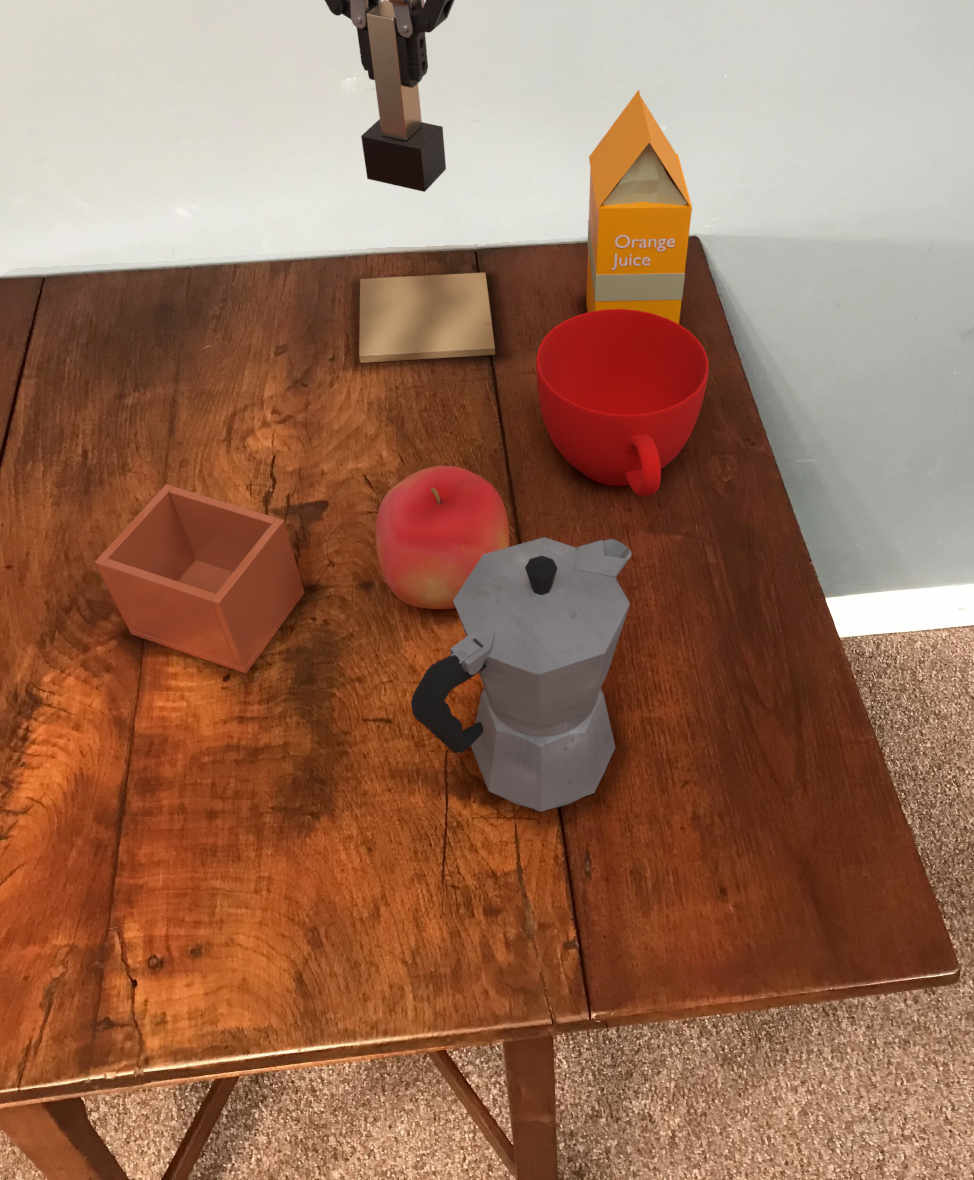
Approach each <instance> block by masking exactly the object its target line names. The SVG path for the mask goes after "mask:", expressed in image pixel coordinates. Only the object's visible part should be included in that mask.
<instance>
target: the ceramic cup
mask: <svg viewBox="0 0 974 1180" xmlns="http://www.w3.org/2000/svg"><path fill="white" fill-rule="evenodd" d="M535 374H536V384H537V385H536V386H537V394H538V402H539V408H540V413H541V416H542V420H543V423H544V425H545V428H546V430H547V433H548V436H549V438H550V440H551V442H552V444H553V445H554V446H555V448H556V449H557V450H558V452H559V453H560V455H561V456H562V457H563V458H564V459H565V461H567V462H568V463H569V464H570V465H571V466H572V467H573V468H574V469H576V470H577V471H579V472H580V473H582V474H583V475H584V476H586V477H587V478H588V479H590V480H592V481H594V482H596V483H598V484H601V485H606V486H613V487H624V486H625V487H626V486H630V488H631V490H632V491H633V492H634V493H635V494H636V495H637V496H639V497H650V496H653V495H655V494H656V493H657V492H658V490H659V489H660V485H661V481H662V479H661V478H662V470H663V469H664V468H666V466H668V464H670V463H671V462H672V461H673V460H674V459H675V458H676V457H677V456H678V455H679V454H680V452H681V451H682V449H683V448H684V446H685V445H686V444H687V442H688V441H689V438H690V437H691V435H692V432H694V429H695V426H696V422H697V420H698V417H699V414H700V412H701V408H702V405H703V401H704V398H705V394H706V390H707V384H708V380H709V359H708V355H707V351H706V350H705V348H704V346H703V345H702V343H701V342H700V340H699V339H698V338H697V337H696V336H695V335H694V334H693V333H692V332H691V331H689V330H688V329H687V328H685V327H683V326H682V325H681V324H680V323H679V324H677V323H675V322H673V321H671V320H669V319H667V318H665V317H662V316H659V315H656V314H653V313H648V312H643V311H638V310H628V309H605V310H598V311H592V312H588V311H587V312H585V313H581V314H578V315H574V316H572V317H570V318H568V319H565V320H564V321H562V322H561V323H559V324H557V325H556V326H555V327H553V328H552V329H551V330H550V331H549V332H548V333H547V334H546V335H545V336H544V337H543V339H542V340H541V343H540V344H539V346H538V349H537V352H536V359H535Z"/></svg>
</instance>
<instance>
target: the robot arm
mask: <svg viewBox="0 0 974 1180" xmlns="http://www.w3.org/2000/svg"><path fill="white" fill-rule="evenodd" d="M388 1H389V2H391V3H392V4H393V9H394V14H395V19H396V24H397V29H398V32H399V33H400V35H399V36H398V37H397V40H398V49H399V58H400V67H401V77H402V84H403V86H405V87H410V88H413V87H414V86H415V85H417V84H418V85H419V83H420V82H421V81H422V80H423V77H424V76H425V75H427V72H428V69H429V61H428V53H427V52H428V49H427V40H426V38H427V37H426V33H428V34H429V33H432V32H433V31H434V30H435V29H436V28H437V27H439V26H440V25H441V24H442V23H443V22H445V21H446V20H447V19H448V18H449V15H450V12H451V10H452V8H453V5H454V3H455V0H388ZM324 2H325V4H326V6H327V7H328V9H329V11H330V12H331V13H332V15H335V16H336V17H337V16H341V15H343V16H345V17H346V18H348V19H349V20H351V23H352V25H354V27H355V28H356V33H357V40H358V48H359V54H360V62H361V65H362V68H363V69H364V71H367V75H368V79H369V80H371V81H375V78H374V70H373V63H372V55H371V47H370V39H369V31H368V24H367V16H366V14H367V13H368V12H369V11H371V10H372V9H373V8H374V7H376V6H377V5H378V4H380V3H381V2H382V0H324Z"/></svg>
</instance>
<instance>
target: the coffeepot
mask: <svg viewBox="0 0 974 1180" xmlns="http://www.w3.org/2000/svg"><path fill="white" fill-rule="evenodd" d="M631 556H632V550H631V549H630V548H629V547H628V546H626V545H625V544H624V543H623V542H621V541H618V540H616V539H613V538H608V539H605V540H603V539H600V540H595V541H594V542H593V541H592V542H590V543H586V544H583V545H580V546H572V545H569V544H566V543H564V542H560V541H557V540H554V539H551V538H548V537H546V536H545V537H544V536H543V537H540V538H537V539H533V540H529V541H526V542H521V543H518V544H515V545H512V546H509V547H508V548H504V549H500V550H497V551H493V552H490V553H486V554H483V555H482V557H481V558H480V560H479V562H478V563H477V565H476V566H475V568H474V569H473V571H472V572H471V574H470V575H469V577H468V578H467V580H466V581H465V583H464V584H463V586H462V588H461V589H460V591H459V592H458V594H457V595H456V597H455V598H454V600H453V603H454V605H455V607H456V608H455V609H456V612H457V615H458V618H459V620H460V623H461V627H462V629H463V632H464V635H465V637H464V638H463V639H462V640H460V641H458V642H457V643H456V644H454V645H453V646H451V647H450V648H449V650H450V655H448V656H446V657H444V658H442V659H440V660H438V661H436V662H435V663H433V664H431V665H430V666H429V667H428V668H427V669H426V671H425V673H424V675H422V678H421V680H420V681H419V683H418V685H417V687H416V688H415V690H414V692H413V694H412V696H411V701H410V707H411V713H412V715H413V717H414V719H416V720H417V721H418V722H419V723H420V724H421V725H422V726H424V727H425V728H426V729H427V730H429V732H430V733H431V734H433V735H434V736H435V737H436V738H437V739H438V740H439V741H440V742H441V743H442V744H443V745H445V747H447V749H448V750H449V751H451V752H452V753H453V754H462V753H463V752H465V751H466V750H468V749H469V748H470V747H471V750H472V752H473V755H474V757H475V758H474V759H475V760H476V763H477V766H478V769H479V771H480V774H481V775H482V777H483V780H484V783H485V786H486V788H487V790H488V792H489V793H491V794H493V795H496V796H498V797H500V798H502V799H504V800H506V801H508V802H510V803H511V804H515V805H517V806H521V807H524V808H527V809H532V810H535V811H537V812H540V813H542V812H547V811H549V810H552V809H557V808H560V807H565V806H569V805H571V804H572V803H574V802H578V801H579V800H581V799H583V798H584V797H587V796H590V795H593V794H595V793H596V791H597V788H598V786H599V784H600V782H601V780H602V778H603V777H604V775H605V773H606V770H607V767H608V765H609V763H610V760H611V758H612V756H613V754H614V752H615V750H616V744H615V743H616V742H615V739H614V735H613V731H612V726H611V721H610V717H609V712H608V708H607V704H606V698H605V695H604V692H603V690H602V686H603V684H604V682H605V679H606V677H607V675H608V673H609V670H610V667H611V664H612V661H613V658H614V655H615V651H616V649H617V646H618V643H619V639H620V636H621V633H622V630H623V627H624V624H625V620H626V618H627V615H628V612H629V608H630V605H631V603H630V601H629V599H628V598H627V596H626V594H625V592H624V590H623V589H622V587H621V585H620V583H619V581H618V580H617V577H618V575H619V574H620V573H621V572H622V569H623V568H624V567H625V566H626V564H627V563H628V561H629V560H630V558H631ZM476 675H479V678H480V680H481V683H482V685H483V689H482V691H481V693H480V698H479V703H478V708H477V714H476V718H475V723H473V724H472V725H470V726H469V727H466V728H464V729H463V724H462V721H461V720H460V719H459V718H458V717H456V716H455V715H453V712H452V711H451V707H450V705H449V704H448V703H447V702H446V699H447V697H448V695H449V694H450V692H451V691H452V690H454V689H456V688H457V687H459V686H460V685H462V684H464V683H466V682H467V681H468V680H471V679H472V678H473V677H475V676H476Z"/></svg>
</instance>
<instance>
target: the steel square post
mask: <svg viewBox="0 0 974 1180" xmlns="http://www.w3.org/2000/svg"><path fill="white" fill-rule="evenodd" d="M366 16H367V24H368V31H369V39H370V47H371V55H372V63H373V70H374V78H375V80H374V85H375V94H376V102H377V109H378V116H379V117H378V118H379V119H378V120H377V121H376V122H374V124H372V125H371V126H370V127H369V128H368V129H367V130H366V131H365V132H364V133H363V134H361V136H360V138H361V145H362V152H363V159H364V167H365V172H366V173H365V174H366V178H367V180H371V181H374V182H379V183H384V184H387V185H392V186H396V187H401V188H406V189H410V190H415V191H419V192H423V193H425V192H426V191H427V190H428V189H429V188H430V187H432V185H433V184H434V183H435V182H436V181H437V180H438V179H439V177H440V176H441V175H442V174H443V173H445V171H446V170H447V164H446V153H445V152H446V151H445V140H444V128H443V126H441V125H438V124H437V125H436V124H432V123H428V122H424V121H422V112H421V111H422V110H421V101H420V91H419V83H418V84H417V85H415V86H414V87H413V88H410V87H405V86H403V84H402V77H401V67H400V58H399V49H398V40H397V37H398V36H399V35H400V33H399V32H398V29H397V24H396V19H395V14H394V9H393V4H392V3H391V2H389V0H381V3H380V4H378V5H377V6H376V7H374V8H373V9H372V10H371V11H369V12H368V13H367V14H366Z"/></svg>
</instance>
